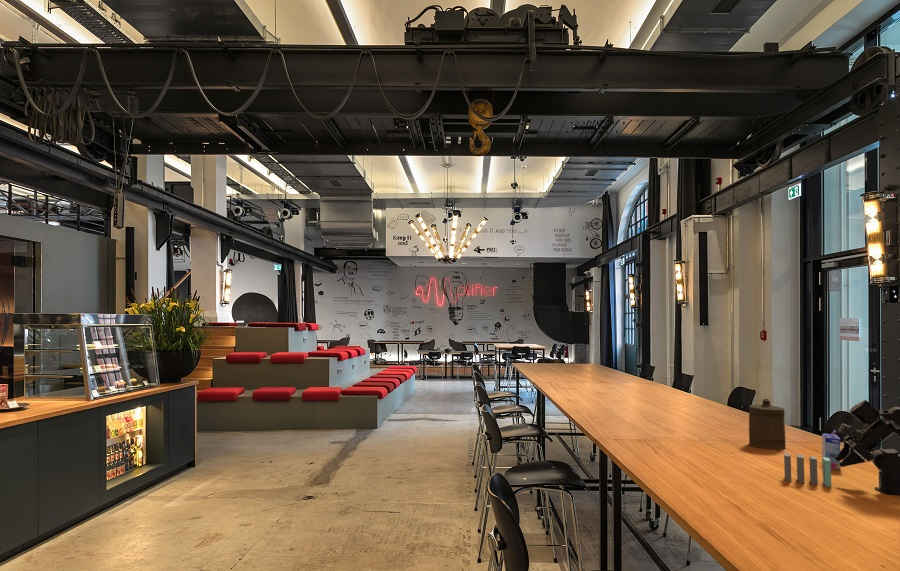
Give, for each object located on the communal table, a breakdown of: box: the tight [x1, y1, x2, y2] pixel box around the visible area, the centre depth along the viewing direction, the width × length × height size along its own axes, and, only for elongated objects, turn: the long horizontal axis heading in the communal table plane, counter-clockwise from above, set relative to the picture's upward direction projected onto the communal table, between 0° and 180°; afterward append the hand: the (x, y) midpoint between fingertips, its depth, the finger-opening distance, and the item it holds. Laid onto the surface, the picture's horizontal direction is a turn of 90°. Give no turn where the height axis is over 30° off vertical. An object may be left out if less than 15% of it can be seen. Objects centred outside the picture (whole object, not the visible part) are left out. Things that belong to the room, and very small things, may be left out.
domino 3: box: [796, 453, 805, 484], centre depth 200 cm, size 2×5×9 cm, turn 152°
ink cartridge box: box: [821, 429, 842, 471], centre depth 222 cm, size 10×6×14 cm, turn 152°
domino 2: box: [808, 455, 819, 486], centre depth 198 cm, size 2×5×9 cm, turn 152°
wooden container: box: [748, 398, 787, 450], centre depth 258 cm, size 15×15×22 cm
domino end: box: [783, 452, 792, 482], centre depth 202 cm, size 2×5×9 cm, turn 152°
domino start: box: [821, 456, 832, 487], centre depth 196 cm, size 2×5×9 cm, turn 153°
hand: (838, 462), depth 195 cm, fingers open, 9 cm apart
